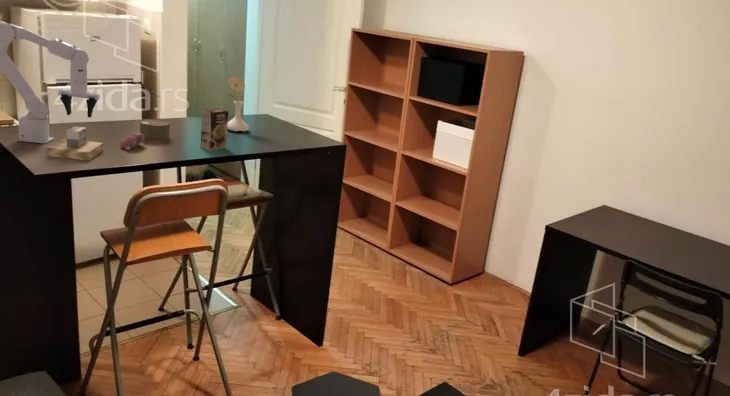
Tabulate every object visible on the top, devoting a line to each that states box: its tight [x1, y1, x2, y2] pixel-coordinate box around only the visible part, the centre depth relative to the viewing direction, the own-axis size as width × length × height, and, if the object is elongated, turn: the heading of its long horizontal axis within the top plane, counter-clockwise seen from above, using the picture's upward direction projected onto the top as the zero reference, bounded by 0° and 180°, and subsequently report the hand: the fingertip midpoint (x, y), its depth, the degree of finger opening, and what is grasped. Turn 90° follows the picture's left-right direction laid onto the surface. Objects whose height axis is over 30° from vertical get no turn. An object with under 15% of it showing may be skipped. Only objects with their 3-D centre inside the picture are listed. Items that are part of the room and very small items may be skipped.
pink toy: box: [119, 132, 145, 149], centre depth 229 cm, size 10×5×7 cm, turn 170°
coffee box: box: [199, 108, 229, 152], centre depth 241 cm, size 9×6×16 cm
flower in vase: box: [226, 76, 250, 132], centre depth 275 cm, size 13×11×25 cm
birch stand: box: [46, 138, 104, 162], centre depth 211 cm, size 14×14×3 cm
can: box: [139, 118, 171, 143], centre depth 245 cm, size 12×12×7 cm
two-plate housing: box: [65, 125, 87, 148], centre depth 210 cm, size 4×7×6 cm, turn 3°
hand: (79, 115), depth 226 cm, fingers open, 7 cm apart
